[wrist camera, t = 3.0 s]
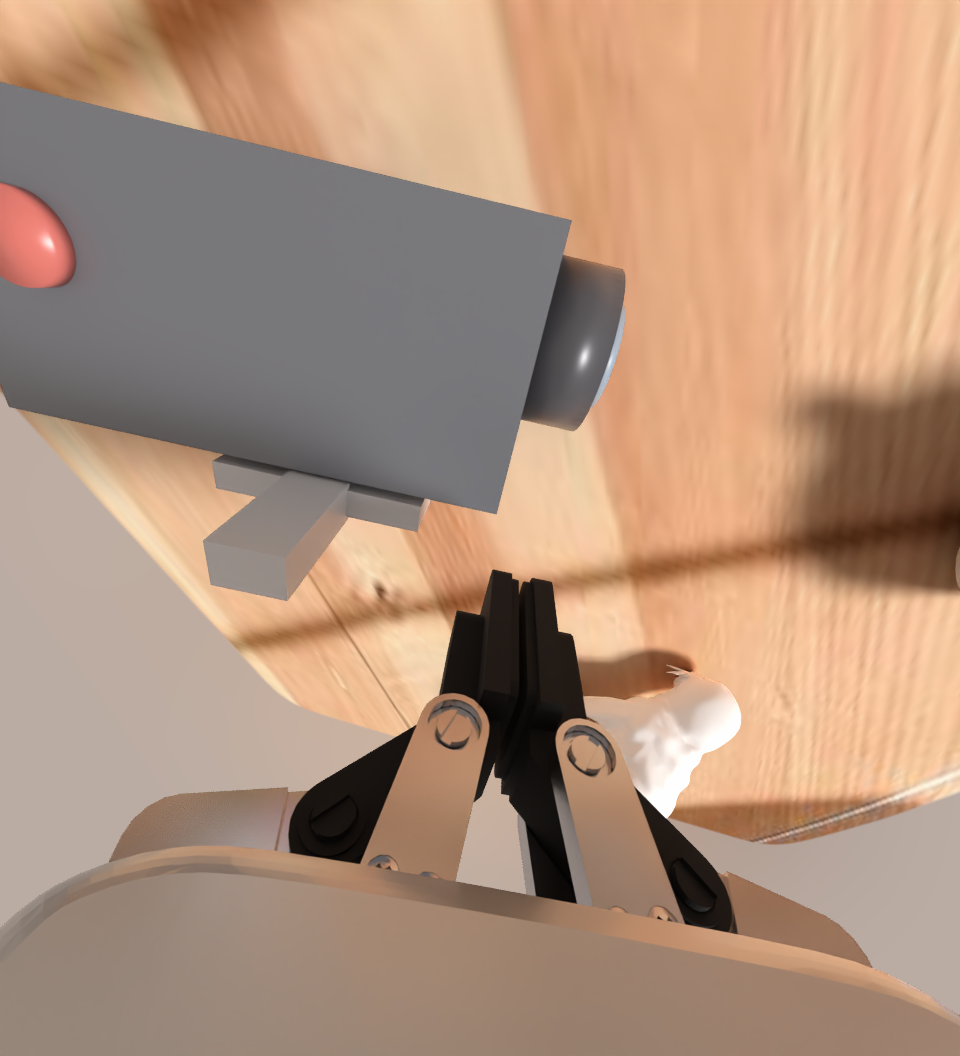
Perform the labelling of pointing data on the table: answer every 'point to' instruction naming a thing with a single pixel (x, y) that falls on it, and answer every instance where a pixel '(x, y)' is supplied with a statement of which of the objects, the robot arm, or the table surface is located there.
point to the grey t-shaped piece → (291, 523)
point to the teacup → (958, 568)
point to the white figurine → (668, 732)
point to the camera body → (286, 304)
